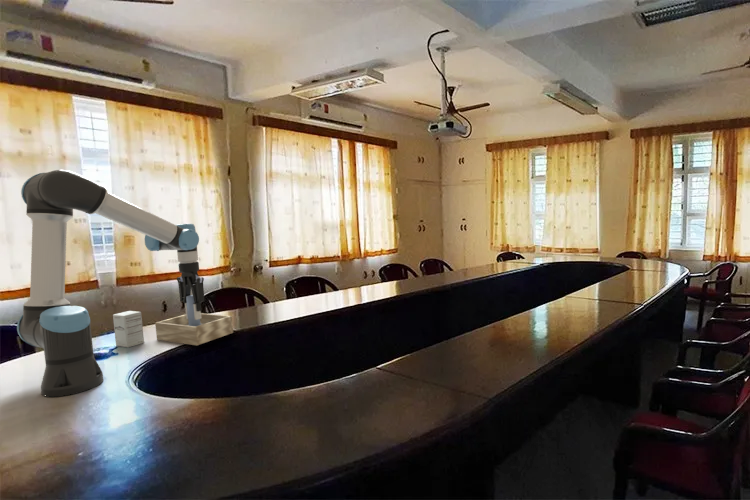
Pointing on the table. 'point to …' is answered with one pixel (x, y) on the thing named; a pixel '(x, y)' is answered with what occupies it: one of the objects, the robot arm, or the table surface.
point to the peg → (191, 311)
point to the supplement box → (128, 328)
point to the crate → (194, 329)
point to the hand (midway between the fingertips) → (194, 318)
